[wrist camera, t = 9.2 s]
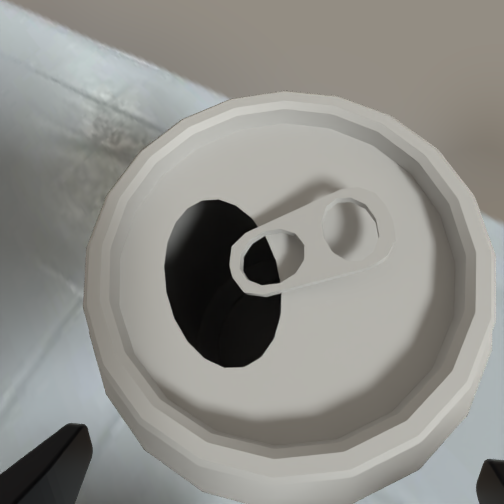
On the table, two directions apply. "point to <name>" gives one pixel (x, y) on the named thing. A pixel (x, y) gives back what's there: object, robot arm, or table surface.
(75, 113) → the table surface
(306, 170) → the can
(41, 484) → the robot arm
